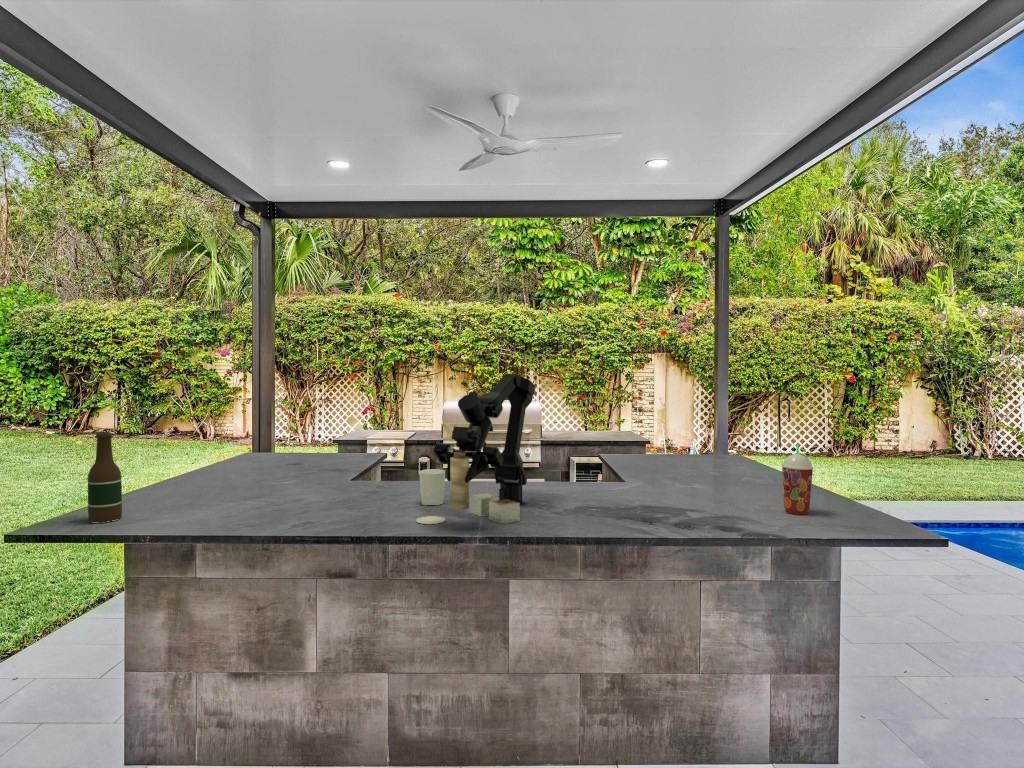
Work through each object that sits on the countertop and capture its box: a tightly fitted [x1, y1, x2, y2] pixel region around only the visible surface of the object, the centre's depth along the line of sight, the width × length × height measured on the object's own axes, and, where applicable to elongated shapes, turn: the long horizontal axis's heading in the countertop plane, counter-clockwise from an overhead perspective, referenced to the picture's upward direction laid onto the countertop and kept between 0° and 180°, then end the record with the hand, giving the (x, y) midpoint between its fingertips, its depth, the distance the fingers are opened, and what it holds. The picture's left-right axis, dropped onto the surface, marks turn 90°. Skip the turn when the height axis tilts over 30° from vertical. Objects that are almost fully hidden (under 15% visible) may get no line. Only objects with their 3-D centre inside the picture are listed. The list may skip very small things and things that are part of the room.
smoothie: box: [781, 444, 814, 516], centre depth 182 cm, size 8×8×20 cm
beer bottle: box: [87, 431, 123, 522], centre depth 170 cm, size 8×8×24 cm
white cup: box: [418, 468, 446, 506], centre depth 192 cm, size 8×8×10 cm
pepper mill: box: [449, 451, 470, 511], centre depth 162 cm, size 5×5×14 cm
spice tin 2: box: [488, 499, 521, 525], centre depth 172 cm, size 6×6×5 cm
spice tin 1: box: [469, 492, 499, 518], centre depth 180 cm, size 6×6×5 cm
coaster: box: [415, 515, 446, 525], centre depth 170 cm, size 8×8×1 cm
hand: (457, 481), depth 160 cm, fingers closed on pepper mill, 5 cm apart
